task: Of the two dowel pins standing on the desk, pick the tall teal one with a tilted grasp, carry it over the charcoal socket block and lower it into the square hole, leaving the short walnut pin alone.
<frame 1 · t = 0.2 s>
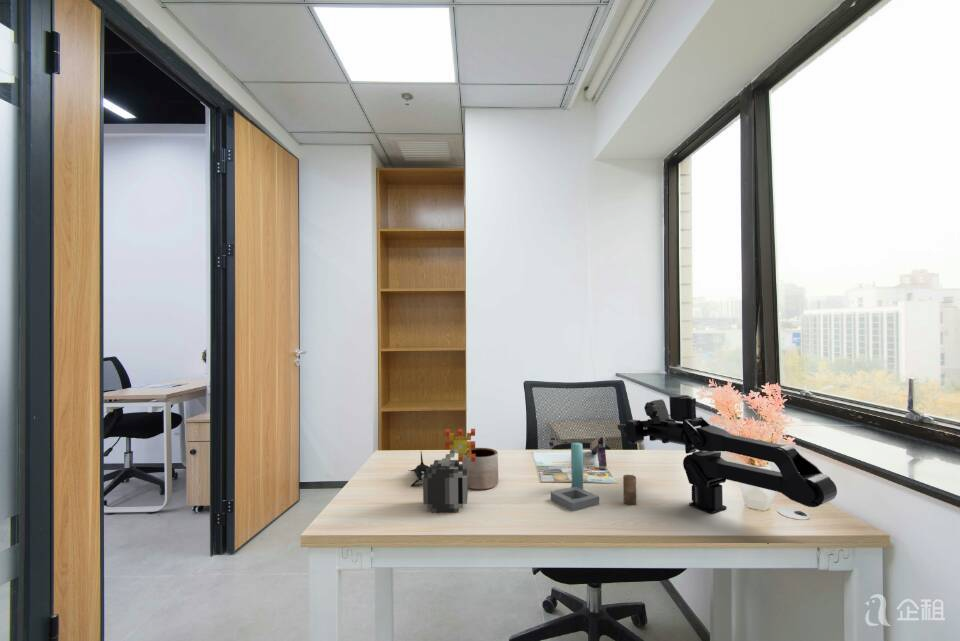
hand: (628, 424, 140), 17 cm above the table, tool horizontal, fingers open, 9 cm apart
planter: (480, 485, 137), on the table
teal pin: (577, 489, 132), on the table
toy: (421, 480, 143), on the table
bomb: (450, 507, 120), on the table
toy gun: (598, 461, 160), on the table
walnut pin: (629, 503, 121), on the table
socket block: (574, 502, 122), on the table
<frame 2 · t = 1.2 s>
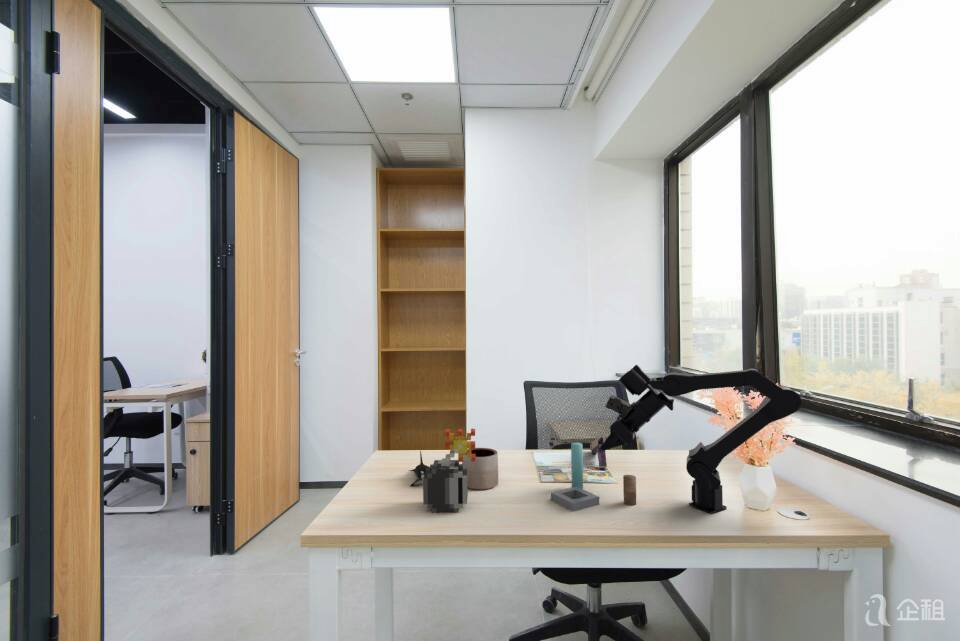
hand: (604, 444, 129), 13 cm above the table, tool tilted 45°, fingers open, 9 cm apart
nothing on the table moved.
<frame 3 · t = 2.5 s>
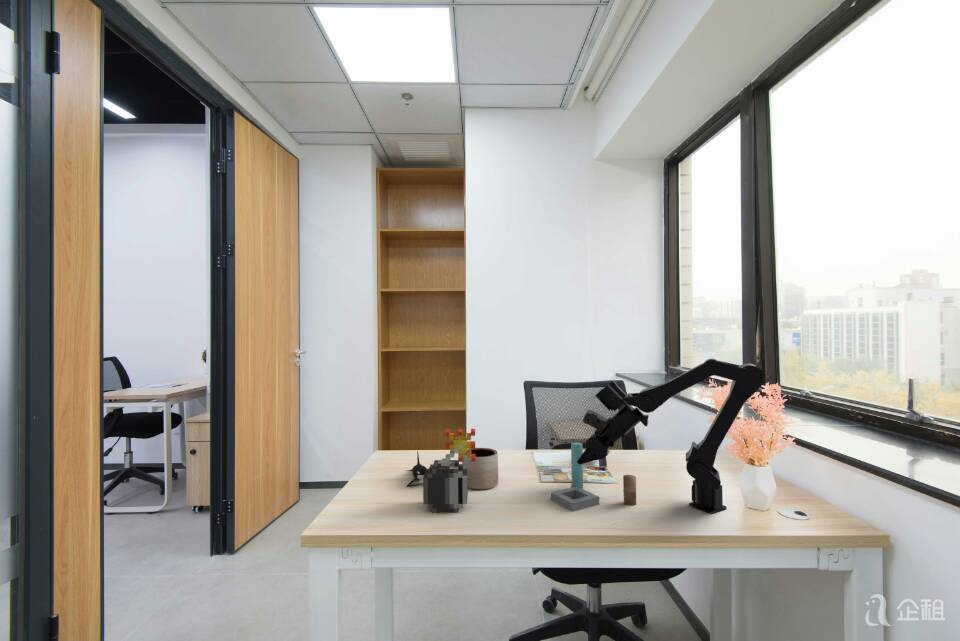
hand: (581, 458, 131), 9 cm above the table, tool tilted 45°, fingers open, 9 cm apart
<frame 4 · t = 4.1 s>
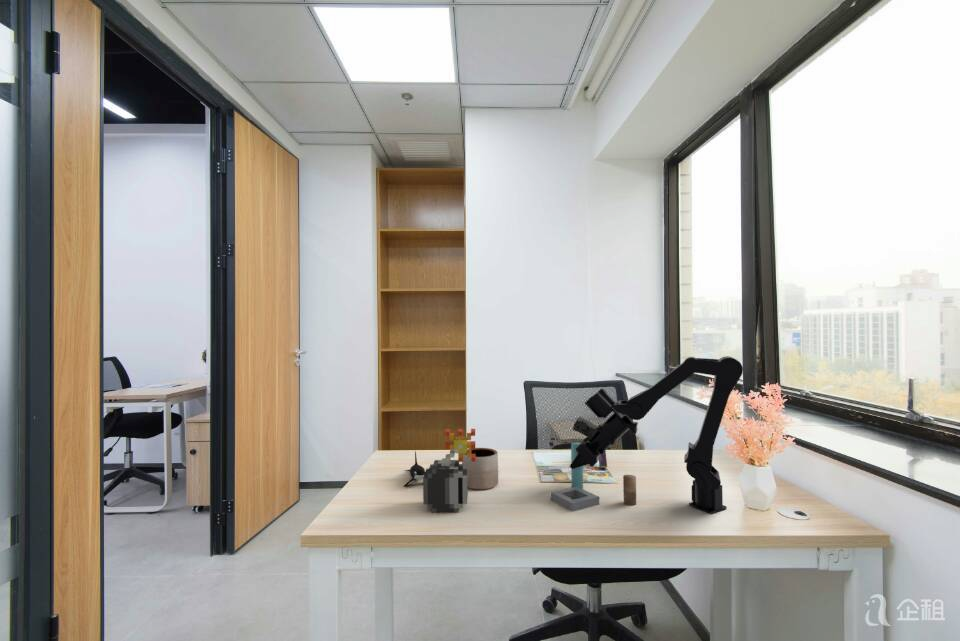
hand: (572, 465, 132), 7 cm above the table, tool tilted 45°, fingers closed on teal pin, 3 cm apart
teal pin: (577, 489, 132), on the table, touching gripper
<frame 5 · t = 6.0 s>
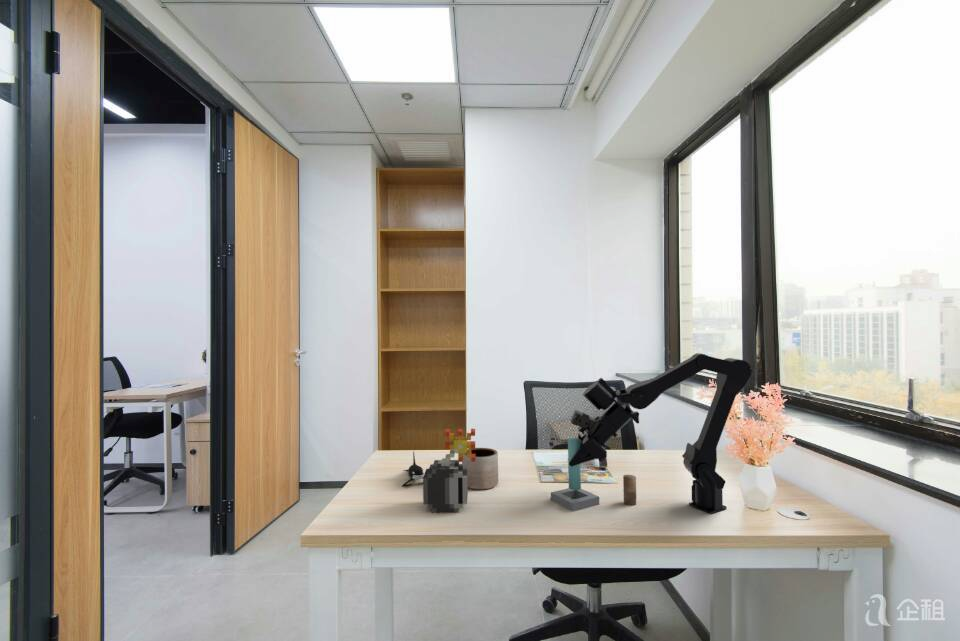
hand: (569, 463, 123), 10 cm above the table, tool tilted 45°, fingers closed on teal pin, 3 cm apart
teal pin: (574, 488, 122), point 4 cm above the table, touching gripper
when the fingers open (8 cm above the table, at t = 6.7 s): teal pin drops 2 cm, resting in socket block.
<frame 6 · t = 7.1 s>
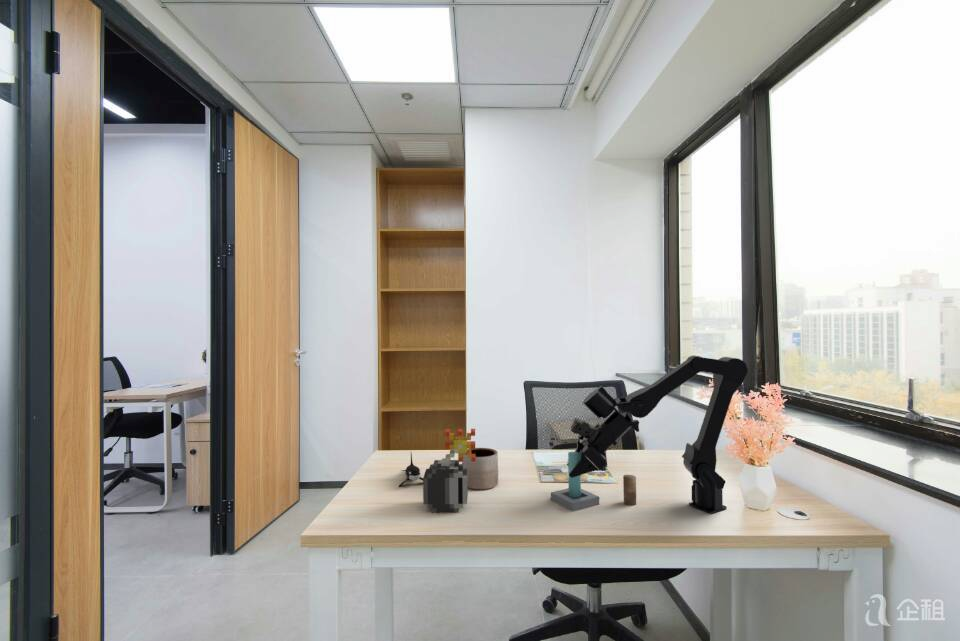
hand: (569, 471, 123), 8 cm above the table, tool tilted 45°, fingers open, 8 cm apart
teal pin: (574, 502, 122), resting in socket block
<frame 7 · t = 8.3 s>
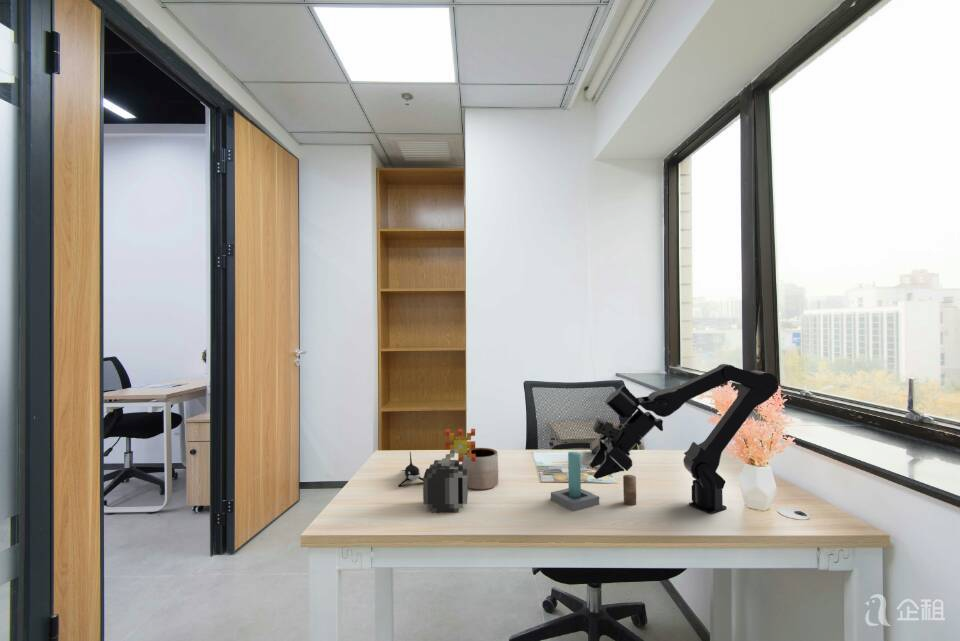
hand: (592, 471, 122), 8 cm above the table, tool tilted 45°, fingers open, 9 cm apart
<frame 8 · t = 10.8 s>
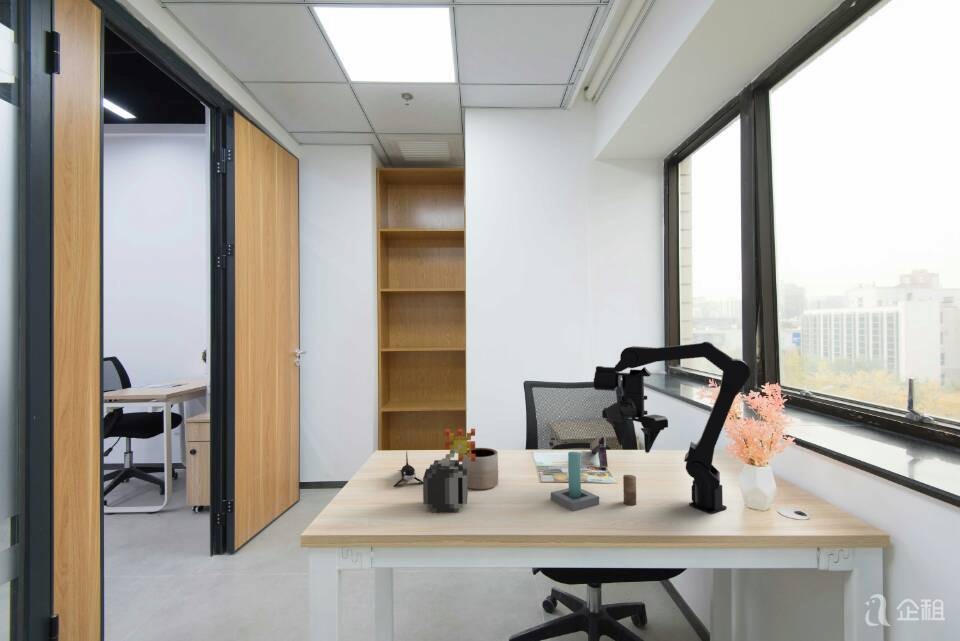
hand: (633, 448, 126), 13 cm above the table, tool pointing down, fingers open, 9 cm apart
toy: (407, 480, 143), on the table
everything else where it was.
at the end: teal pin 0.0 cm from the socket block (horizontally); teal pin resting in socket block; teal pin tilted 0° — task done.
